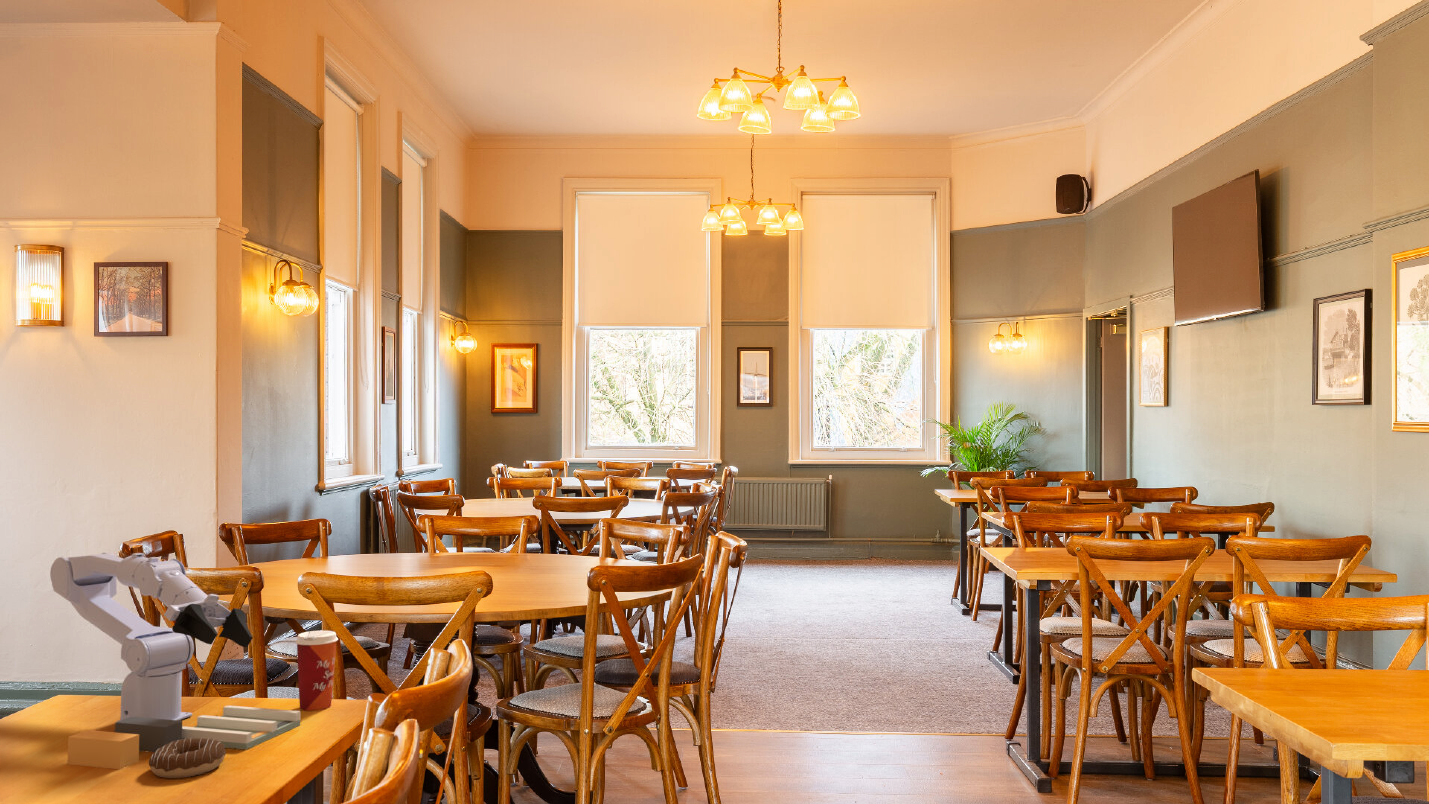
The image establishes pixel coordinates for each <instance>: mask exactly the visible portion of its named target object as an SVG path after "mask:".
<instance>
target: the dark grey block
mask: <svg viewBox="0 0 1429 804" xmlns="http://www.w3.org/2000/svg"><path fill="white" fill-rule="evenodd" d="M117 721H118V722H117ZM117 721H116V722H115V724H114V725H115V727H114V728H115V729H114V732H116V733H127V734H139V752H143V751H148V752H147V753H153V752H154V753H155V752H156V751H157V750H158V749H159V748H161V747H163V746H165V745H167V744H168V743H171V742H172V741H177V740H181V739H182V726H183V720H179V721H178V720H167V719H156V718H145V717H134V716H133V717H130V718H127V719H124V720H121V721H119V720H117ZM154 753H153V754H154Z"/></svg>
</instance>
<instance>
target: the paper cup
mask: <svg viewBox="0 0 1429 804" xmlns="http://www.w3.org/2000/svg"><path fill="white" fill-rule="evenodd" d="M337 641H339V638H338V637H337V633H336V631H333V630H326V629H325V630H311V631H305V632H301V633H298V635H297V637H296V640H295V642H294V643H295V644H296V649H297V650H296V651H297V675H298V678H297V679H298V680H297V681H298V697H299V709H300V710H301V711H305V712H314V711H323V710H326V709H329V708H331V706H332V702H333V701H332V699H333V690H334V689H333V687H334V678H335V677H334V676H335V662H336V652H337V650H336V649H337Z"/></svg>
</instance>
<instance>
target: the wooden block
mask: <svg viewBox="0 0 1429 804" xmlns="http://www.w3.org/2000/svg"><path fill="white" fill-rule="evenodd" d="M67 738H68V739H67V744H68V745H67V765H73V766H84V767H93V768H103V769H104V768H105V769H113V770H115V769H116V770H122V769H125V768H127V767H129V766H132V765H135V764H137V763H139V761H140V751H139V734H127V733H116V732H115V731H114V732H113V731H105V730H104V731H101V730H91V729H87V730H84V731H81V732H78V733H75V734H73V735H69V736H67ZM134 763H135V764H134ZM124 767H125V768H124Z"/></svg>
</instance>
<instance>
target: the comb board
mask: <svg viewBox="0 0 1429 804" xmlns="http://www.w3.org/2000/svg"><path fill="white" fill-rule="evenodd" d="M222 711H223V713H222V715H220V716H218V715H217V716H216V715H205V714H201V715H199V716H197V720H196V721H197V722H196V723H197V725H196V726H185V725H182V739H190V738H204V739H209V738H210V739H214V740H217V741H220V742H222V743H223V745H224V747H225V749H234V748H236V749H235V750H249V749H252V748H253V747H255V746H257V745H260V744H262V743H264V742H266V740H267V741H269V740H271V739H273V738H275V737H278V736H280V735H282V734H284V733H286V732H288V731H290V730H293V729H295V728H297V727H299V726H301V711H300V710H289V709H276V708H268V707H267V708H265V707H264V708H263V707H253V706H252V707H251V706H241V705H240V706H239V705H230V704H229V705H225V706H223V708H222ZM248 748H249V749H248Z"/></svg>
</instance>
